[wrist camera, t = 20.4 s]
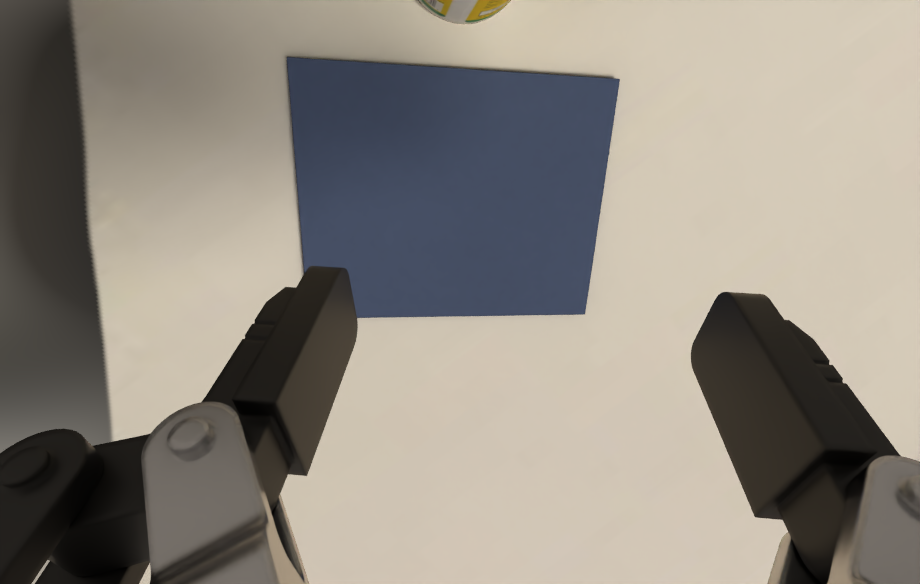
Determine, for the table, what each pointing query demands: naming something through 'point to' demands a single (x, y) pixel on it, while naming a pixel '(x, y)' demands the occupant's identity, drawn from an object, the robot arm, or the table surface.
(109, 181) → the table surface
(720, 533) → the table surface
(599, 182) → the flat panel
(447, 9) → the supplement bottle
